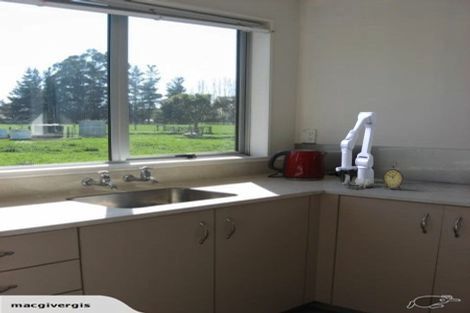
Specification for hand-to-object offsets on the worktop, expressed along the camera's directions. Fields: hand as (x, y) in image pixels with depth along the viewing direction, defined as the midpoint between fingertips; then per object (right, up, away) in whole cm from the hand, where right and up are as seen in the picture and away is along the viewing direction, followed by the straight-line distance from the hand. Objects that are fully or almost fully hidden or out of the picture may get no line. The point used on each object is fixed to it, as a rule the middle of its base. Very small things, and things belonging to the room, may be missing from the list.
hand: (346, 182), depth 249 cm
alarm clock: (+23, -3, -14) cm, 27 cm away
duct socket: (+5, -3, -10) cm, 11 cm away
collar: (0, -2, 0) cm, 2 cm away
